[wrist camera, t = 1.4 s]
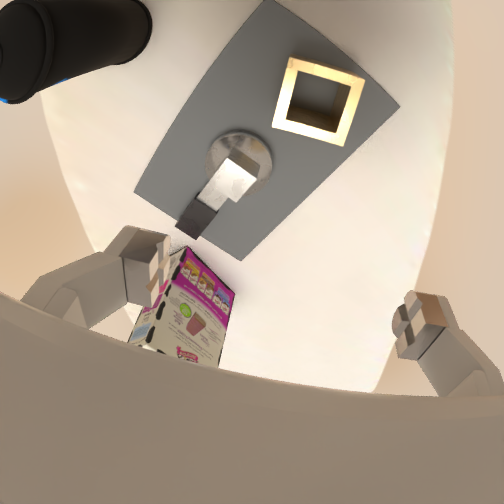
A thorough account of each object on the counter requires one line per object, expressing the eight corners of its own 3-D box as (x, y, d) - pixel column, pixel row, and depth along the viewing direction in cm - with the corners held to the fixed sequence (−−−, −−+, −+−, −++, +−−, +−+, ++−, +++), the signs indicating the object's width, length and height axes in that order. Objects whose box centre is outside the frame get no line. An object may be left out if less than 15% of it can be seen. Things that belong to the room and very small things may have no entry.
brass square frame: (290, 53, 25) (289, 57, 21) (352, 71, 25) (365, 80, 21) (276, 110, 29) (271, 126, 25) (335, 126, 29) (342, 146, 25)
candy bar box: (163, 258, 45) (120, 351, 32) (187, 244, 43) (144, 343, 30) (212, 304, 50) (187, 395, 38) (236, 294, 48) (215, 391, 35)
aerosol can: (119, -16, 21) (-34, -13, 6) (168, 23, 24) (23, 41, 9) (77, 39, 25) (-67, 88, 10) (120, 78, 28) (-18, 150, 13)
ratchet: (232, 117, 30) (222, 132, 26) (286, 156, 32) (284, 177, 28) (166, 210, 39) (151, 234, 35) (211, 239, 41) (202, 266, 37)
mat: (267, -3, 22) (267, -4, 22) (399, 106, 27) (400, 106, 27) (134, 190, 38) (133, 192, 38) (241, 259, 43) (240, 261, 43)
